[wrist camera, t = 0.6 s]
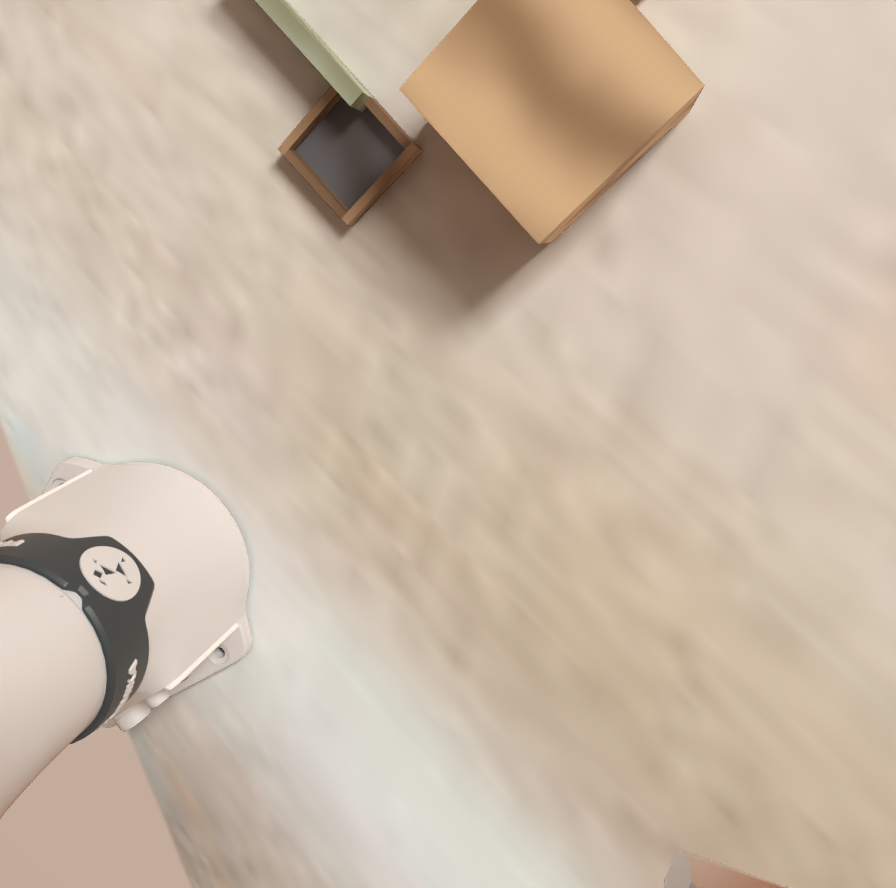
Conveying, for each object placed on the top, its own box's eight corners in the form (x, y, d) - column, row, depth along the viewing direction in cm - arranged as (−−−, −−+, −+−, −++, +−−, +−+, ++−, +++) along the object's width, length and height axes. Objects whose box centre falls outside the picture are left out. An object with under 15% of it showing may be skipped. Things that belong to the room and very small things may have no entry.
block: (551, 242, 46) (538, 244, 39) (435, 112, 46) (398, 88, 38) (689, 111, 43) (704, 85, 36) (566, -30, 43) (554, -86, 35)
